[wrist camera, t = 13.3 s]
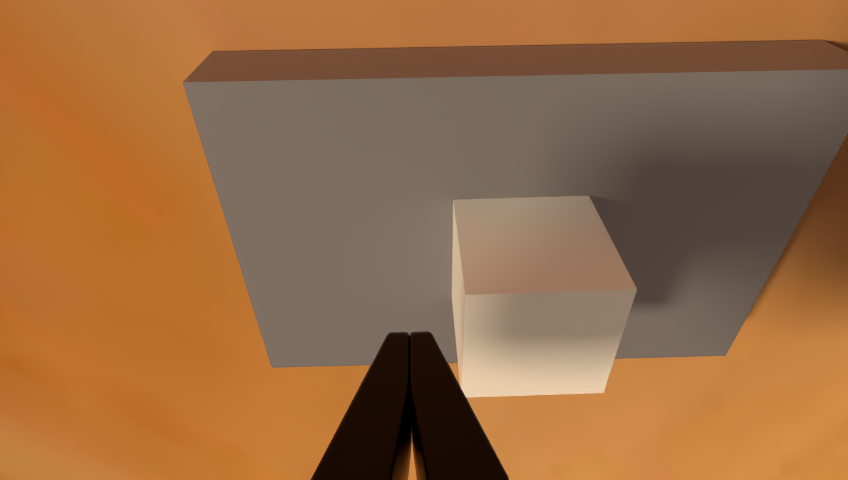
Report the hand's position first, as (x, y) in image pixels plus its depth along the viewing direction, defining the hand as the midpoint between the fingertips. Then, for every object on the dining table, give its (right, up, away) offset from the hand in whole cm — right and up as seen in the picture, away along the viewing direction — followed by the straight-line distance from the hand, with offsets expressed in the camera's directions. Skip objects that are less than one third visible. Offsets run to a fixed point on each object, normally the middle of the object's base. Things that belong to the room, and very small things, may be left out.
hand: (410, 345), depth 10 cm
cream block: (+4, +3, +12) cm, 13 cm away
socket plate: (+4, +4, +13) cm, 14 cm away
